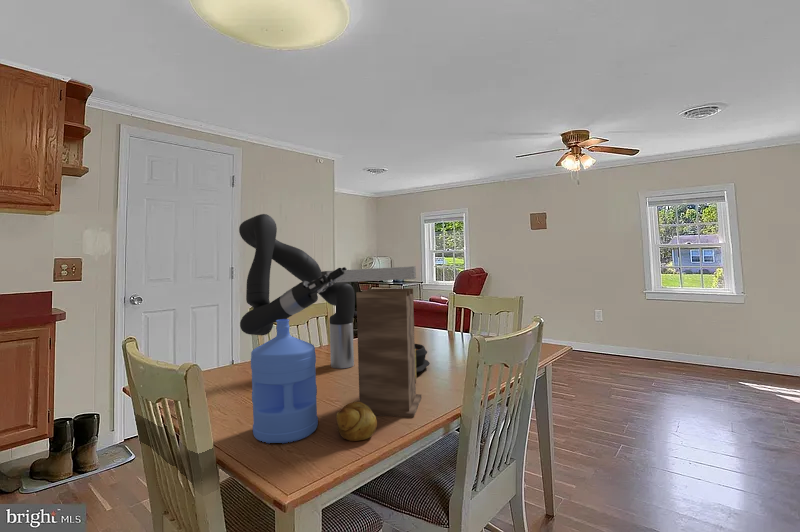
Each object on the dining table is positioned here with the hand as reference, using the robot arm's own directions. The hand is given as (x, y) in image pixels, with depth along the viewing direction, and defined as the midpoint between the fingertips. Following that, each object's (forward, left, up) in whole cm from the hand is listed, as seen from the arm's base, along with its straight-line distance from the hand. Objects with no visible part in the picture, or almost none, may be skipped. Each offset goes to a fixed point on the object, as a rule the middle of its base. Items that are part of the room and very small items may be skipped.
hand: (344, 270), depth 120 cm
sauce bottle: (-17, +15, -40) cm, 46 cm away
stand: (+3, +13, -39) cm, 42 cm away
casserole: (-36, +11, -40) cm, 55 cm away
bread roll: (+21, +9, -40) cm, 46 cm away
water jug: (+23, -9, -40) cm, 47 cm away
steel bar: (0, +8, -3) cm, 8 cm away
